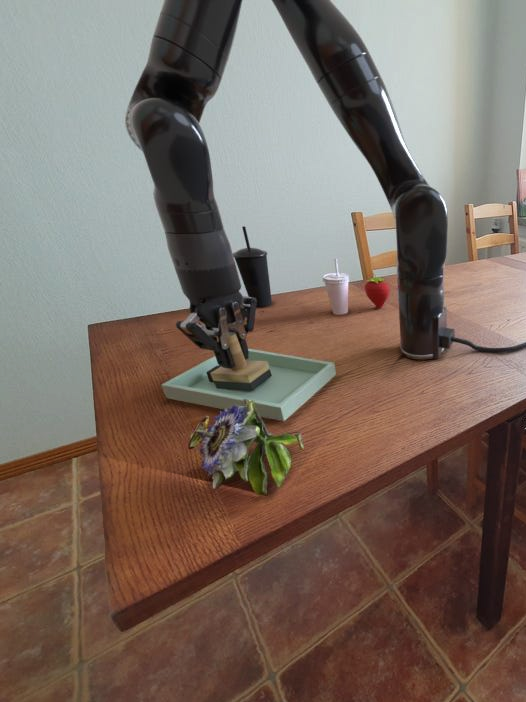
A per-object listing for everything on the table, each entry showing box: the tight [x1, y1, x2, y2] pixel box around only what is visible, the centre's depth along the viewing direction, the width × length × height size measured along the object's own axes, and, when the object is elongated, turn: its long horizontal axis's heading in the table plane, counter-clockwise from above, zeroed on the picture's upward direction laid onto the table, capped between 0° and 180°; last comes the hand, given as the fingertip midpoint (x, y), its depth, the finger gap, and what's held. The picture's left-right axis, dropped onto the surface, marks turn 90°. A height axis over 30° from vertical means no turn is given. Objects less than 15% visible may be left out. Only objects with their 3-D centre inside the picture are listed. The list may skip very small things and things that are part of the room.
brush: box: [210, 332, 272, 391], centre depth 63 cm, size 7×5×9 cm
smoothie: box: [322, 258, 350, 316], centre depth 95 cm, size 6×6×14 cm
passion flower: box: [187, 399, 305, 497], centre depth 48 cm, size 11×11×12 cm
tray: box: [160, 348, 337, 422], centre depth 65 cm, size 22×15×3 cm
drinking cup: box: [232, 225, 273, 308], centre depth 96 cm, size 8×8×20 cm
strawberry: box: [364, 272, 391, 309], centre depth 100 cm, size 6×8×10 cm
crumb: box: [206, 366, 221, 382], centre depth 66 cm, size 2×2×2 cm
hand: (235, 362), depth 64 cm, fingers closed on brush, 2 cm apart
